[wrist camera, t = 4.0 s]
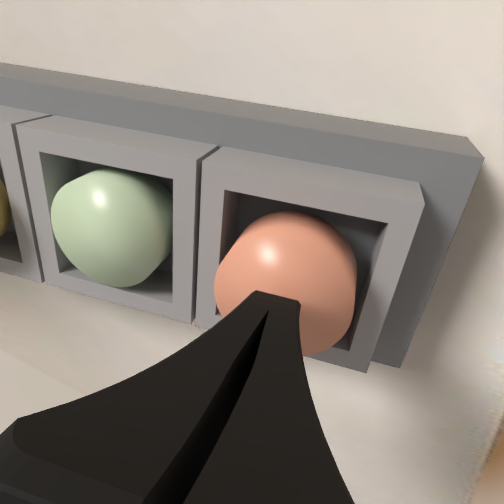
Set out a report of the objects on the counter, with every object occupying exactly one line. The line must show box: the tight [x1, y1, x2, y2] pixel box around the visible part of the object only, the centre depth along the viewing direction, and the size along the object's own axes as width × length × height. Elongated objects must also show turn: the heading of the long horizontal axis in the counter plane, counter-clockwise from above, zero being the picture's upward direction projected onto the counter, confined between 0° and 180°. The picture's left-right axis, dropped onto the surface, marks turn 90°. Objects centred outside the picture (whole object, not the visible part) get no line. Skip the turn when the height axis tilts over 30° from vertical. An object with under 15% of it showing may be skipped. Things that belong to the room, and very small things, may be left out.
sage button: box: [51, 165, 173, 287], centre depth 16 cm, size 4×4×2 cm
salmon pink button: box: [214, 211, 357, 356], centre depth 13 cm, size 4×4×2 cm
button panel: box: [0, 63, 484, 373], centre depth 17 cm, size 24×9×5 cm, turn 83°
